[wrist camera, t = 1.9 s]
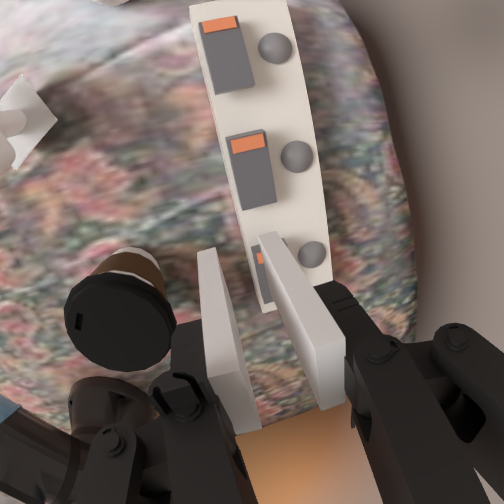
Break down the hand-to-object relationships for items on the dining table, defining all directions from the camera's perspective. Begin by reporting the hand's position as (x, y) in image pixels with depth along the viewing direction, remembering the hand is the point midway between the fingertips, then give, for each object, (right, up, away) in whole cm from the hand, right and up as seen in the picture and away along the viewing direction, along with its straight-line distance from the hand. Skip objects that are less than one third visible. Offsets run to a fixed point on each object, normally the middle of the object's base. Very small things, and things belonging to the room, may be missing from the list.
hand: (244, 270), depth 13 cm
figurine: (-24, +15, +13) cm, 31 cm away
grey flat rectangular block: (-2, +18, +10) cm, 21 cm away
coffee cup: (-14, -1, +23) cm, 27 cm away
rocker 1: (0, +8, +15) cm, 17 cm away
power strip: (+3, +7, +22) cm, 24 cm away
